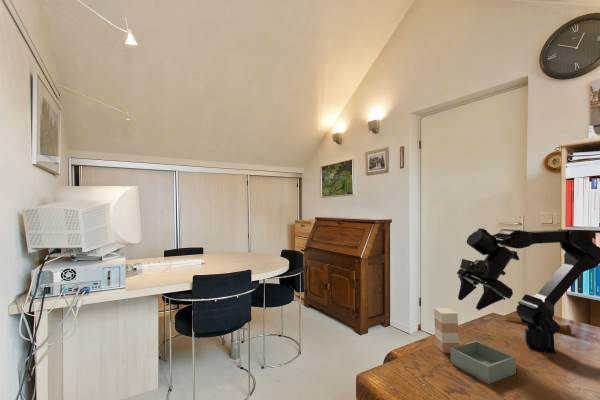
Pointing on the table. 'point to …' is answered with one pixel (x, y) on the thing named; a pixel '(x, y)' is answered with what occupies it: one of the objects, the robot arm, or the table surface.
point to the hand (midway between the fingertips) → (467, 304)
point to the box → (483, 361)
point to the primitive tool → (563, 328)
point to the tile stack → (446, 329)
